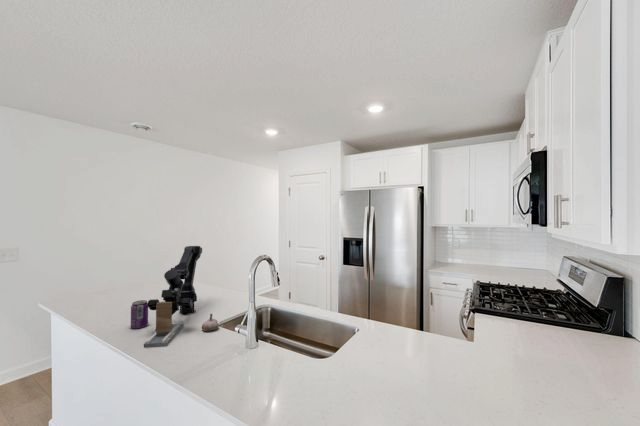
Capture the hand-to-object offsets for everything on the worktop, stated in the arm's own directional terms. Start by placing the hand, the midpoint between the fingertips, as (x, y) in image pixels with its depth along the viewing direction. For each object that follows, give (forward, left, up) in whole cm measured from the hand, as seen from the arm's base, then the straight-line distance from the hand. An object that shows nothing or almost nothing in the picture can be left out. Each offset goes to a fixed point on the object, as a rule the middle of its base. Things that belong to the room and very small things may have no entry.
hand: (165, 321), depth 122 cm
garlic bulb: (-16, +10, -7) cm, 20 cm away
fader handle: (+1, +1, -5) cm, 5 cm away
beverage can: (+3, -21, -7) cm, 23 cm away
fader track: (0, 0, -7) cm, 7 cm away
